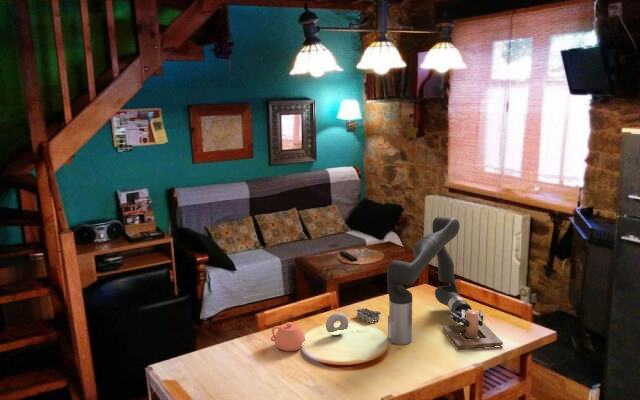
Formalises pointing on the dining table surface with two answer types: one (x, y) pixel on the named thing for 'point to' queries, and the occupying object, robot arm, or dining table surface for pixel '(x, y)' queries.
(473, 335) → the peg
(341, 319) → the donut
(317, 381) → the dining table surface
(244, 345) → the dining table surface
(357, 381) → the dining table surface
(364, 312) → the egg carton
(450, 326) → the hole plate
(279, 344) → the sugar bowl
